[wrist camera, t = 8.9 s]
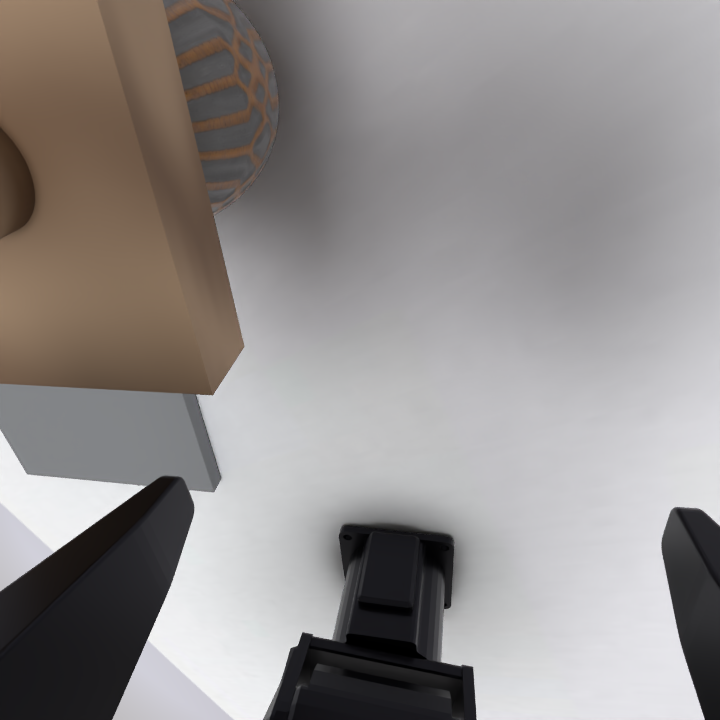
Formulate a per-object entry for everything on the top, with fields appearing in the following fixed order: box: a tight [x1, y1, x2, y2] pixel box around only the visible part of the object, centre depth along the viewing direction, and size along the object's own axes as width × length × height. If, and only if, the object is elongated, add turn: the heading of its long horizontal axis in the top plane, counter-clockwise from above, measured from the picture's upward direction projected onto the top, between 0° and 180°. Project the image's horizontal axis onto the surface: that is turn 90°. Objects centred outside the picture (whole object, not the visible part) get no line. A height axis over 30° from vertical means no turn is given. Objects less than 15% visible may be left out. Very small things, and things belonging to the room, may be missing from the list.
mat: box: [0, 384, 221, 492], centre depth 27 cm, size 16×12×1 cm
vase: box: [163, 0, 279, 215], centre depth 15 cm, size 7×7×9 cm
